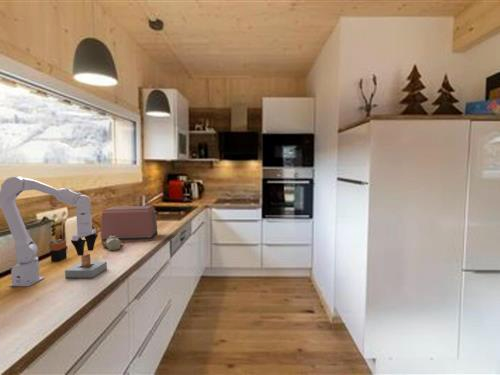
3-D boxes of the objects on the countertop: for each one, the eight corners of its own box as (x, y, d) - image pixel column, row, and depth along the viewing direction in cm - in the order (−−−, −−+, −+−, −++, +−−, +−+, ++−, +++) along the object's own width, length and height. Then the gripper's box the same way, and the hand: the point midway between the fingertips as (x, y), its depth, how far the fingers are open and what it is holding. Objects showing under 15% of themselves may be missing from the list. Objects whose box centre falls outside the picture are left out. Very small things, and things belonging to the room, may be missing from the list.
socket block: (92, 278, 134) (91, 270, 134) (65, 278, 135) (64, 270, 135) (106, 269, 146) (106, 261, 146) (82, 268, 147) (81, 261, 147)
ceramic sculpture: (103, 237, 173) (100, 233, 186) (104, 252, 173) (101, 248, 186) (124, 234, 178) (120, 231, 191) (125, 250, 178) (120, 245, 191)
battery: (67, 257, 166) (65, 238, 165) (59, 261, 159) (58, 242, 158) (58, 257, 166) (57, 238, 165) (50, 261, 159) (49, 242, 158)
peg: (87, 273, 138) (86, 256, 138) (80, 273, 139) (79, 255, 138) (92, 271, 142) (91, 253, 141) (85, 270, 142) (84, 253, 142)
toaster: (155, 241, 198) (154, 209, 196) (99, 243, 195) (97, 210, 193) (161, 234, 217) (160, 205, 215) (110, 236, 214) (109, 206, 212)
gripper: (83, 225, 131) (84, 257, 132) (101, 219, 146) (103, 248, 147) (66, 225, 132) (68, 257, 133) (87, 219, 146) (88, 248, 147)
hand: (85, 252), depth 140 cm, fingers open, 7 cm apart
